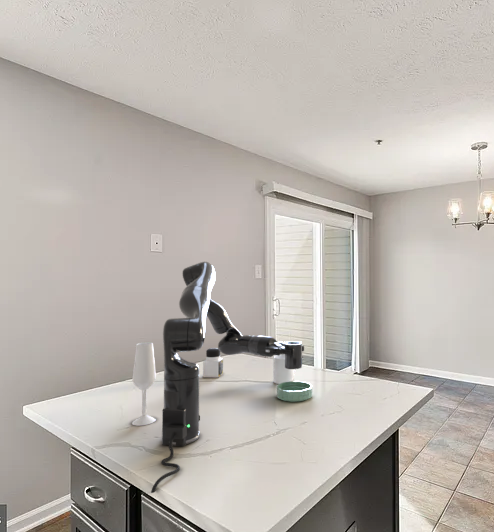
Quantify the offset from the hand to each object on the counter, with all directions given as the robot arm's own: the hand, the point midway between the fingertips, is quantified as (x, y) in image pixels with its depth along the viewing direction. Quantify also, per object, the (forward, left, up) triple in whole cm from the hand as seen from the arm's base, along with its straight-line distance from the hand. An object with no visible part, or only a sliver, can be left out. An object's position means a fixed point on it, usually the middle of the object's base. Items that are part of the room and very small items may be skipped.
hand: (298, 350), depth 140 cm
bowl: (+1, +2, -17) cm, 18 cm away
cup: (+1, +2, -6) cm, 7 cm away
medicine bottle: (+25, +45, -18) cm, 54 cm away
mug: (+21, +10, -18) cm, 29 cm away
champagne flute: (-29, +43, -18) cm, 55 cm away
